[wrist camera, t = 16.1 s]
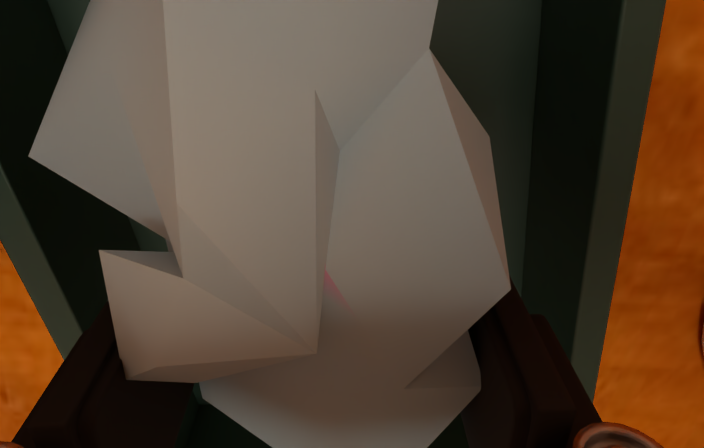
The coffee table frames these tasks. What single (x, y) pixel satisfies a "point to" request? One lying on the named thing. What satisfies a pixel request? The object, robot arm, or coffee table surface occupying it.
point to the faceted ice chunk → (288, 209)
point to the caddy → (482, 98)
